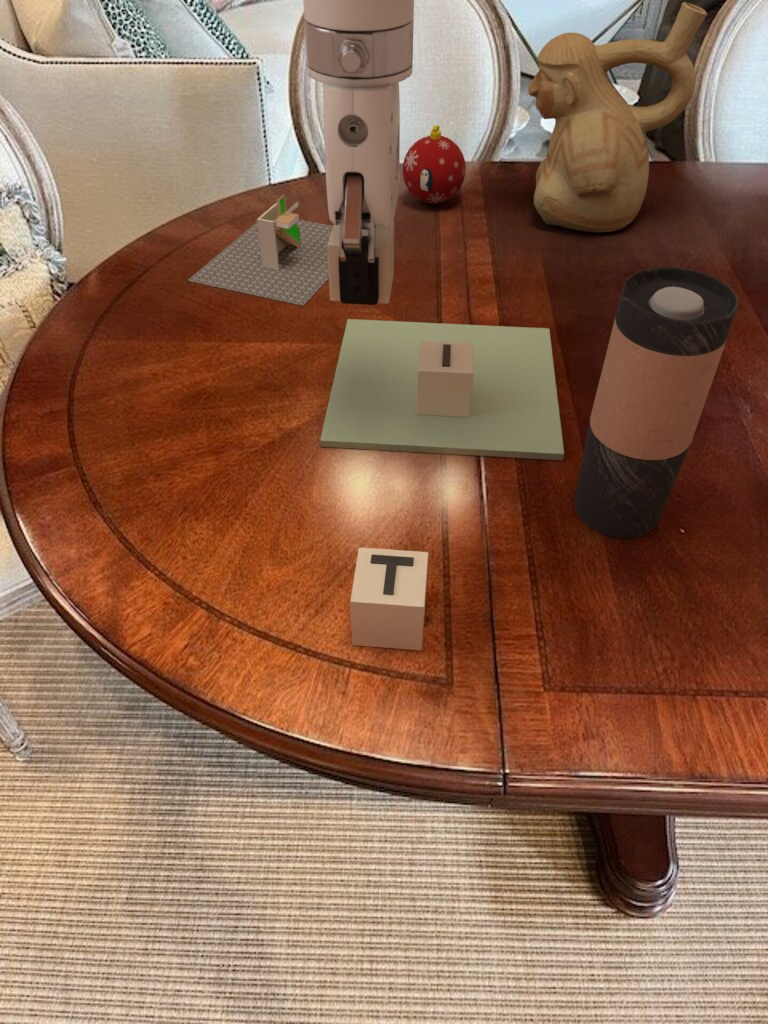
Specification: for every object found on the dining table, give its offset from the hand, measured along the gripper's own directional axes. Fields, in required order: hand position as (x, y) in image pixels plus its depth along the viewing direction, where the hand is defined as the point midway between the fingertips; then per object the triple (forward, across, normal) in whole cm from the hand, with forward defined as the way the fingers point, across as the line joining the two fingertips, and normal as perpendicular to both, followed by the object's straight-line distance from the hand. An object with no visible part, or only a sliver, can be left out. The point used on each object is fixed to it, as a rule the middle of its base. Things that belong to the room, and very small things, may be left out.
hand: (363, 283), depth 67 cm
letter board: (+13, +3, -8) cm, 15 cm away
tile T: (+13, -26, -5) cm, 30 cm away
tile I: (+12, 0, -8) cm, 14 cm away
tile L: (0, 0, 0) cm, 0 cm away
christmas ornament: (+13, +47, -5) cm, 49 cm away
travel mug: (+13, -13, -23) cm, 29 cm away
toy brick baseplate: (+13, +29, +13) cm, 35 cm away
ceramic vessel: (+13, +44, -26) cm, 53 cm away
